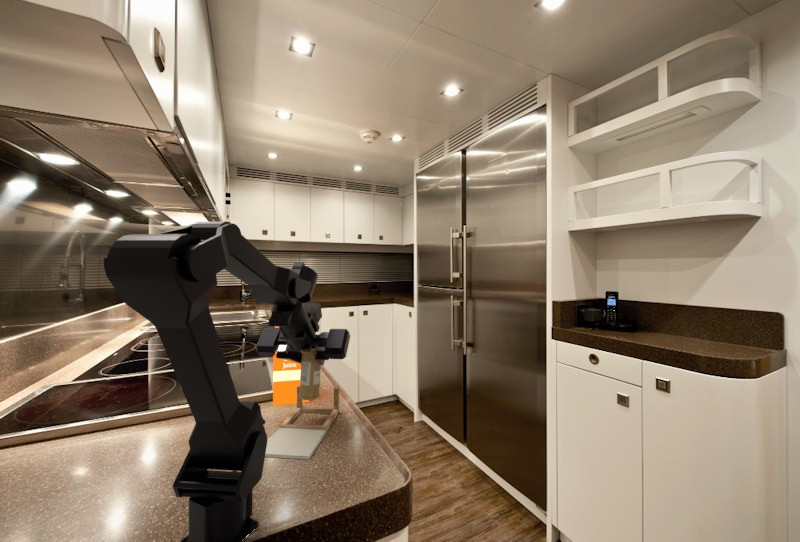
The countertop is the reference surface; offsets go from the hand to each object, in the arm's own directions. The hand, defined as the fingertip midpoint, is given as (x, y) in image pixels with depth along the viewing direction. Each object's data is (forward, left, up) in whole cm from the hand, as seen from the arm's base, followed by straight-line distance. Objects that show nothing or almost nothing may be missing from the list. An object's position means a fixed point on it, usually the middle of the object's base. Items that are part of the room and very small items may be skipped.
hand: (313, 363), depth 74 cm
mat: (-10, -4, -13) cm, 17 cm away
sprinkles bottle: (-2, 0, -7) cm, 8 cm away
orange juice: (+7, +13, -13) cm, 19 cm away
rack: (-1, 0, -13) cm, 13 cm away
